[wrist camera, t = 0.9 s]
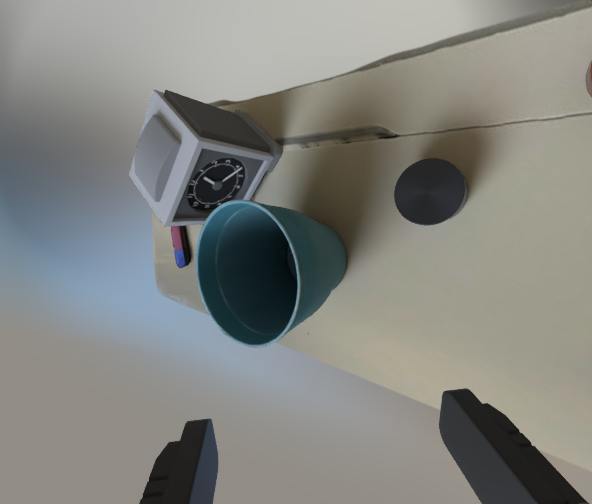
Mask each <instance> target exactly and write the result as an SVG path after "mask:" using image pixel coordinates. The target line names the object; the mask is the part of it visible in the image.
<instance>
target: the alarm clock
mask: <svg viewBox="0 0 592 504" xmlns="http://www.w3.org/2000/svg"><path fill="white" fill-rule="evenodd" d="M281 155H282V149H281V146H280V145H279V144H278V143H277V142H276V141H275V140H274V139H272V138H271V137H270V136H269V135H268V134H267V133H266V132H265V131H264V130H263V129H262V128H261V127H260V126H259V125H258V124H257V123H256V122H255V121H254V120H253V119H252V118H251V117H249V116H248V115H247V114H246V113H245V112H242V111H240V110H236V111H235V112H233V113H231V112H228V111H225V110H222V109H220V108H217V107H214V106H211V105H208V104H205V103H202V102H199V101H197V100H194V99H191V98H188V97H185V96H182V95H180V94H177V93H174V92H171V91H168V90H165V93H162V92H159V91H156V90H153V93H152V97H151V100H150V103H149V107H148V110H147V114H146V117H145V121H144V124H143V128H142V131H141V134H140V138H139V140H138V143H137V146H136V152H135V155H134V159H133V162H132V166H131V169H130V172H129V176H130V177H131V178H132V180H133V181H134V182H135V184H136V186H137V187H138V189H139V190H140V192H141V193H142V195H143V196H144V198H145V199H146V201H147V202H148V203H149V205H150V206H151V208H152V209H153V211H154V212H155V214H156V215H157V217H158V218H159V220H160V221H161V223H162V224H163V225H164V227H166V226H186V225H204V223H205V221H206V220H207V218H208V217H209V215H210V214H211V213H212V212H213V211H214V210H215V209H216V208H217V207H218V206H220V205H221V204H223V203H225V202H228V201H231V200H237V199H242V200H250V199H251V197H252V195H253V193H254V192H255V190H256V188H257V186H258V184H259V183H260V181H261V179H262V177H263V176H264V174H265V172H266V171H269V172H272V171H273V169H274V168H275V166H276V164H277V162H278V161H279V159H280V157H281Z"/></svg>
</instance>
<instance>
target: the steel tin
mask: <svg viewBox="0 0 592 504" xmlns="http://www.w3.org/2000/svg"><path fill="white" fill-rule="evenodd" d="M394 197H395V203H396V206H397V209H398V210H399V212H400V213H401V214H402V216H403V217H404V218H406V219H407V220H409V221H410V222H412V223H415V224H419V225H434V224H438V223H441V222H444V221H446V220H448V219H450V218H452V217H454V216H455V215H457V214H458V213H459V212H460V211H461V210H462V208H463V207H464V205H465V203H466V201H467V197H468V185H467V182H466V180H465V178H464V177H463V175H462V174H461V173H460V171H459V170H458V169H457V168H456V167H455V166H454V165H453V164H451V163H449V162H447V161H445V160H441V159H435V158H434V159H424V160H421V161H418V162H416V163H414V164H412V165H411V166H409V167H408V168H407V169H406V170H405V171H404V172H403V173H402V174H401V176H400V177H399V179H398V181H397V184H396V187H395V193H394Z"/></svg>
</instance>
